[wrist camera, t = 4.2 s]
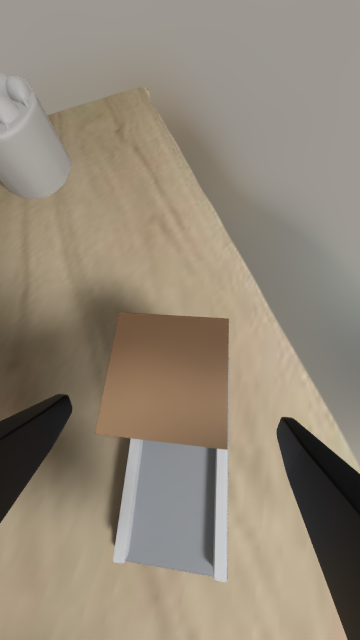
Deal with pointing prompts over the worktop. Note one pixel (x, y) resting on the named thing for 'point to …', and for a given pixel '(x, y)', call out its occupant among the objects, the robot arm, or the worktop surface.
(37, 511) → the worktop surface
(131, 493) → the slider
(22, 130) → the lumpy-topped squat cylinder
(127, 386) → the brown rectangular block
